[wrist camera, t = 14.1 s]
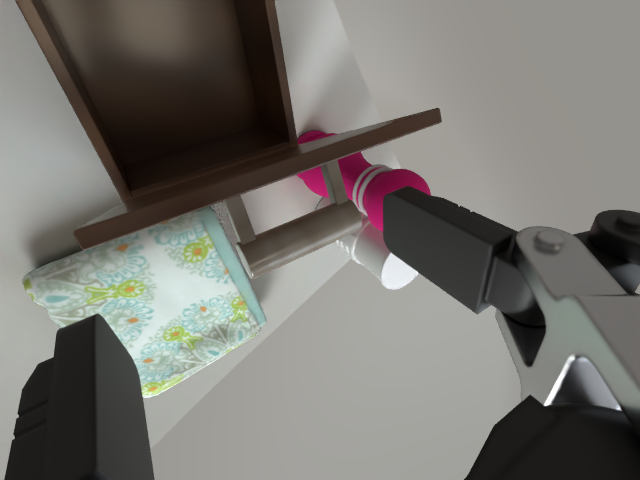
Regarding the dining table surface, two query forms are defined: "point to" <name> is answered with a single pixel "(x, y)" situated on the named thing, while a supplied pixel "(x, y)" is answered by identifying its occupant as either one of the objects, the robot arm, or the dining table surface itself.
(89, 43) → the chest
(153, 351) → the towel
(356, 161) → the pepper mill
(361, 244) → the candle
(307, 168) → the lid
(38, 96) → the dining table surface
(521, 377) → the robot arm
